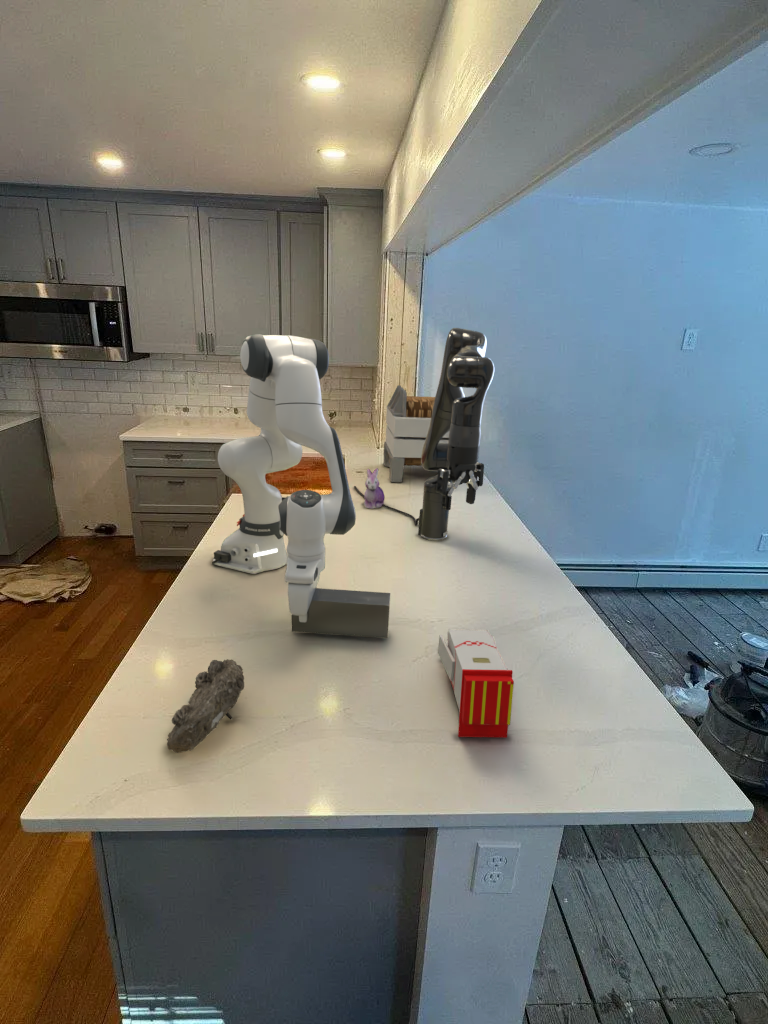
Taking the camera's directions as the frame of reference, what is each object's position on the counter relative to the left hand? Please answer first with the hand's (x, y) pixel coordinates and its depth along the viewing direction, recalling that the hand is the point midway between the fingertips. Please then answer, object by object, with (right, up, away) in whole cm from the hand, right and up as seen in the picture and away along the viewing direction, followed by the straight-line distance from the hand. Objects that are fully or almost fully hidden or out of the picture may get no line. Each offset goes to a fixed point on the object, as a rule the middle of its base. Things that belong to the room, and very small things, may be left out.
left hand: (306, 612), depth 136 cm
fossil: (-14, -15, -28) cm, 35 cm away
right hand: (+37, +26, +5) cm, 45 cm away
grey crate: (+36, +43, +139) cm, 150 cm away
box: (+8, -4, +1) cm, 9 cm away
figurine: (+15, +27, +91) cm, 96 cm away
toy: (+37, -13, -18) cm, 43 cm away
